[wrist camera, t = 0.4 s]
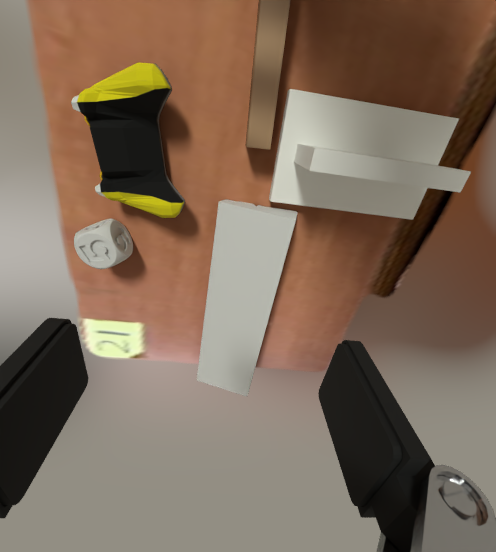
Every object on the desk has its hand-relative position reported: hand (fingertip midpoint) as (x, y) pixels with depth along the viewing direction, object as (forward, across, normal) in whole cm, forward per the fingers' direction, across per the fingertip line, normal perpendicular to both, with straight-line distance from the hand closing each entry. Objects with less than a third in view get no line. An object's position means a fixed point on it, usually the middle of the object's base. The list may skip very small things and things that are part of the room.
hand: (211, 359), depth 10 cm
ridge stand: (+28, -16, -6) cm, 33 cm away
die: (+29, +15, +8) cm, 34 cm away
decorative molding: (+29, -4, +18) cm, 34 cm away
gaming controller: (+29, +11, -4) cm, 31 cm away
